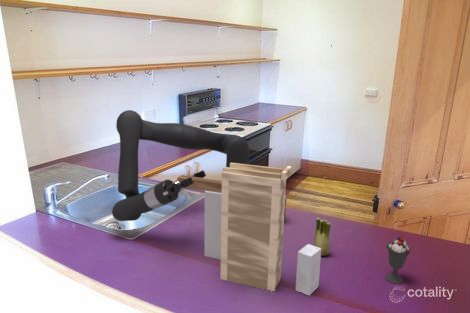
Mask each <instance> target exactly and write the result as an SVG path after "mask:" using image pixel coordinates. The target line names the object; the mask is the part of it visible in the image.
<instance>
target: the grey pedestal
mask: <svg viewBox="0 0 470 313" xmlns="http://www.w3.org/2000/svg"><path fill="white" fill-rule="evenodd" d="M221 203H222V193H218V192H211V191H205V190H204V257H207V258H211V259H217V260H220V261H221Z"/></svg>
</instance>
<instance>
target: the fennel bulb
mask: <svg viewBox="0 0 470 313" xmlns="http://www.w3.org/2000/svg"><path fill="white" fill-rule="evenodd" d="M315 220H316V222H315V224H316V225H315V233H314V246H316V247H319V248H321V257H324V256H328V255H329V254H330V251H331V250H330V249H331V243H330V241H331V240H330V233H331V232H330V231H331V226H332V225H331V224H332V223H330V222H328V220H327V219H325V220H324V219H321V218H320V217H316V219H315Z"/></svg>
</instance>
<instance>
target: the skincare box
mask: <svg viewBox="0 0 470 313" xmlns="http://www.w3.org/2000/svg"><path fill="white" fill-rule="evenodd" d="M321 258H322V256H321V248H319V247H316V246H315V245H313V244H310V243H307V244H306V245H305V246H303V247H302V248H301V249H300V250H298V251H297V258H296V259H297V260H296V277H295V279H296V280H295V291H296V292H297V291H298V293H300V292H302V293H304V294H306V295H309V296H311V295H312V294H313V292H315V290H317V288H319V285H320V272H321ZM302 293H301V294H302ZM304 294H303V295H304ZM306 295H305V296H306Z"/></svg>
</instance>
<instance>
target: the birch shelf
mask: <svg viewBox="0 0 470 313" xmlns="http://www.w3.org/2000/svg"><path fill="white" fill-rule="evenodd" d="M292 168H293V167H292V166H291V165H287V166H286V167H285V168H279V167H272V166H264V165H263V166H262V165H256V164H254V165H253V164H249V163H248V164H239V163H230V168H229V167H226V166H223V167H222V170H221V171H222V172H221V181H222V203H221V260H220V280H223V281H227V282H232V283H234V284H235V283H236V284H240V285H243V286H247V287H251V286H253V287H252V288H255V287H257V289H259V288H262V289H261V290H264V289H266V290H265V291H268V290H271V291H270V292H272V291H275V292H276V289H277V287H276V286H278V285H279V283H280V280H281V276H282V261H283V260H282V258H283V243H284V241H283V240H284V225H285V223H284V209H285V195H286V190H287V189H286V188H287V179H288V178H289V177H290V175H291V174H292ZM275 288H276V289H275Z"/></svg>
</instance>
